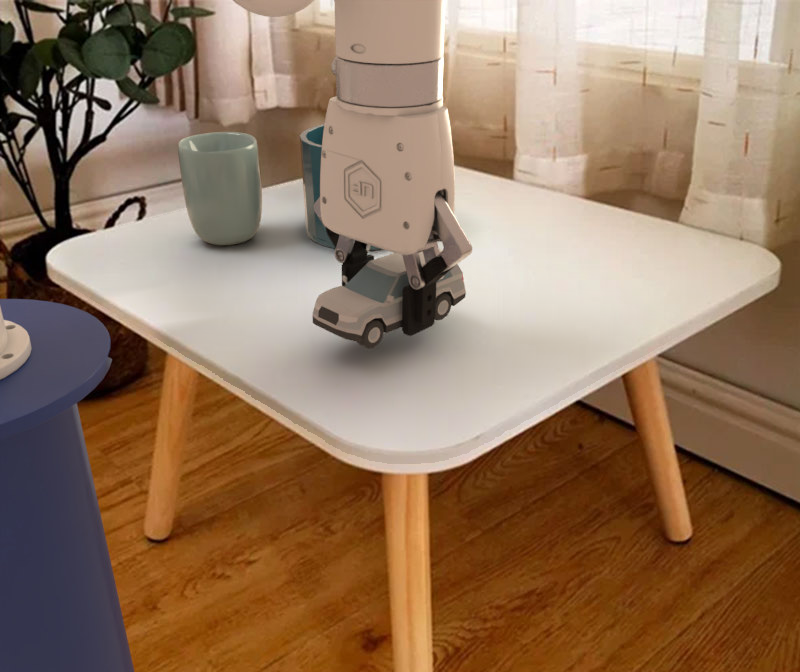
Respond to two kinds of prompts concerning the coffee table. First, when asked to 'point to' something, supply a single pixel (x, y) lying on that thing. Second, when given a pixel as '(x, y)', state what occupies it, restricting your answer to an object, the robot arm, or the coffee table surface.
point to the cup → (222, 185)
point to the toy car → (379, 300)
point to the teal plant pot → (314, 183)
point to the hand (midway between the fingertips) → (387, 315)
